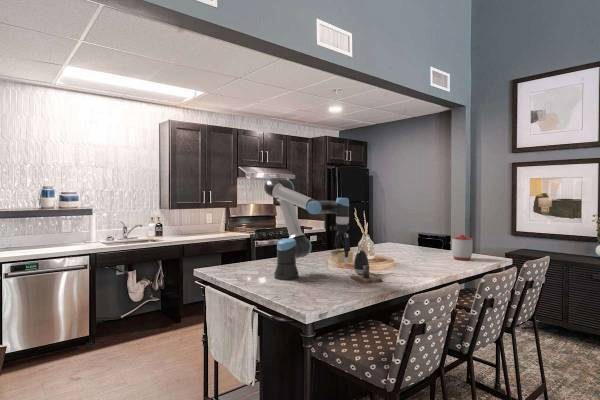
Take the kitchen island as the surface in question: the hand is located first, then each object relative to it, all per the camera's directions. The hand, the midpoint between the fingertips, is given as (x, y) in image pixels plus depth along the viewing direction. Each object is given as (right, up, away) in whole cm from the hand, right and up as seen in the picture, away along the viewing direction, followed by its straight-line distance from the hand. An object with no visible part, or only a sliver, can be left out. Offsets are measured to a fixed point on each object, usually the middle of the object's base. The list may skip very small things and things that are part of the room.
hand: (341, 261), depth 218 cm
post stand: (+15, -12, +1) cm, 19 cm away
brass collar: (0, 0, 0) cm, 0 cm away
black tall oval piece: (+15, -12, +19) cm, 27 cm away
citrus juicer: (+103, -11, +72) cm, 126 cm away
